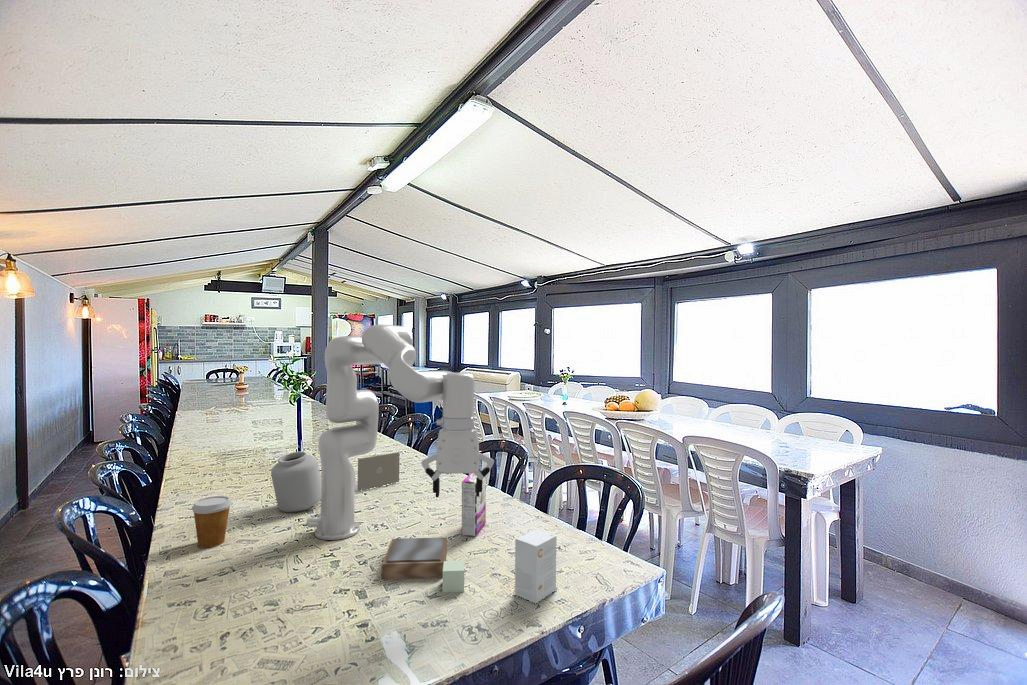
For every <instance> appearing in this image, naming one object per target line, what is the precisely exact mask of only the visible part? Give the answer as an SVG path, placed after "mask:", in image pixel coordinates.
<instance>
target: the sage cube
mask: <svg viewBox="0 0 1027 685" xmlns="http://www.w3.org/2000/svg"><path fill="white" fill-rule="evenodd" d="M465 561H466V560H446V561H444V564H443V577H442V583H441V584H442V590H441V591H442V592H444V593H464V592H465V570H466V569H465V566H466V565H465V564H466V562H465Z"/></svg>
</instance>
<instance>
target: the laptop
mask: <svg viewBox="0 0 1027 685" xmlns="http://www.w3.org/2000/svg"><path fill="white" fill-rule="evenodd" d="M396 482H399V483H400V451H398V452H397V451H396V452H392V453H385V454H380V455H373V456H367V457H362V458H358V459H357V480H355V490H356V491H360V492H362V491H361V490H364V491H367V490H366V489H369V490H371V489H370V488H374V487H379V486H383V485H387V484H391V483H396ZM383 487H384V486H383ZM379 488H380V487H379ZM374 489H375V488H374ZM356 491H355V492H356Z"/></svg>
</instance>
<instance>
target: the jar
mask: <svg viewBox="0 0 1027 685" xmlns="http://www.w3.org/2000/svg"><path fill="white" fill-rule="evenodd" d="M290 438H291V439H290V441H293V437H292V436H290ZM294 444H295V446H297V447H298V448H300V445H297V443H294ZM300 449H301V450H302V449H303V448H300ZM279 450H280V452H281V451H282V450H281V448H278V451H279ZM320 472H321V470H320V468H319V461H318V459H317V458H316V457H315V456H313V455H311V454H308V452H306V451H305V450H304V451H303V450H302V451H299V450H298V451H293V452H290V453H287V454H284V455H283V456H282V455H281V457H279V458H278V459H277V463H276V464H274V466H273V467H272V468H271V471H270V476H271V480H272V484H273V490H274V494H275V500H276V504H277V507H278V509H279V510H280V511H282V512H285V513H297V512H302V511H306V510H307V509H310V508H312V507H315V506H316V505H317V504H319V502H321V473H320ZM274 513H275V512H273V513H272V514H274ZM274 518H275V519H276V516H274Z"/></svg>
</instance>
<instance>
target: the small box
mask: <svg viewBox="0 0 1027 685" xmlns="http://www.w3.org/2000/svg"><path fill="white" fill-rule="evenodd" d="M557 538H558V537H557V535H556V534H552V533H550V532H547V531H544V530H540V529H538V528H534V529H533V530H531V531H529V532H527V533H525V534H523V535H520V536H519V537H516V538H515V539H514V540H515V543H514V544H515V545H514V546H515V547H514V549H515V551H514V554H515V555H514V564H515V565H514V595H515V596H517V597H519V596H520V597H519V598H521V597H522V598H521V599H523V598H524V599H523V600H525V599H527V600H529V601H528V602H530V601H531V602H530V603H532V602H533V603H532V604H534V603H535V604H534V605H537V604H538V603H540V602H541V601H543V600H544V599H546V598H547V597H549V595H551V594H553V593H554V592H555V590H556V591H557ZM552 592H553V593H552ZM546 596H547V597H546ZM542 599H543V600H542ZM527 600H526V601H527ZM539 601H540V602H539ZM536 603H537V604H536Z"/></svg>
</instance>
